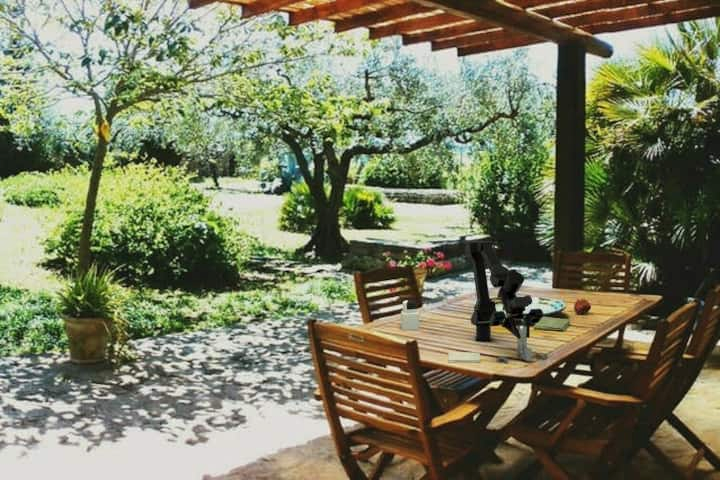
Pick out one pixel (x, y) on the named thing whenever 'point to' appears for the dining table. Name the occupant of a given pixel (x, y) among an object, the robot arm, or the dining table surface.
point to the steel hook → (523, 343)
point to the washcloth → (552, 324)
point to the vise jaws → (502, 359)
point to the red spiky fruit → (582, 306)
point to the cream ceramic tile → (464, 357)
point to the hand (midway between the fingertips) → (523, 337)
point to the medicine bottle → (410, 316)
